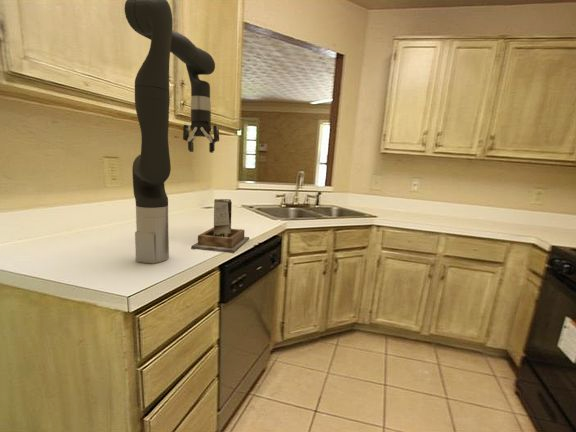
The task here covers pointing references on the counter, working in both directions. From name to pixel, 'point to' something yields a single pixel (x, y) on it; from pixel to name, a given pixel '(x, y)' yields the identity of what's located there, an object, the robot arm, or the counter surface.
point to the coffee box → (222, 217)
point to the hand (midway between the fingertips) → (201, 152)
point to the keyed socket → (221, 241)
